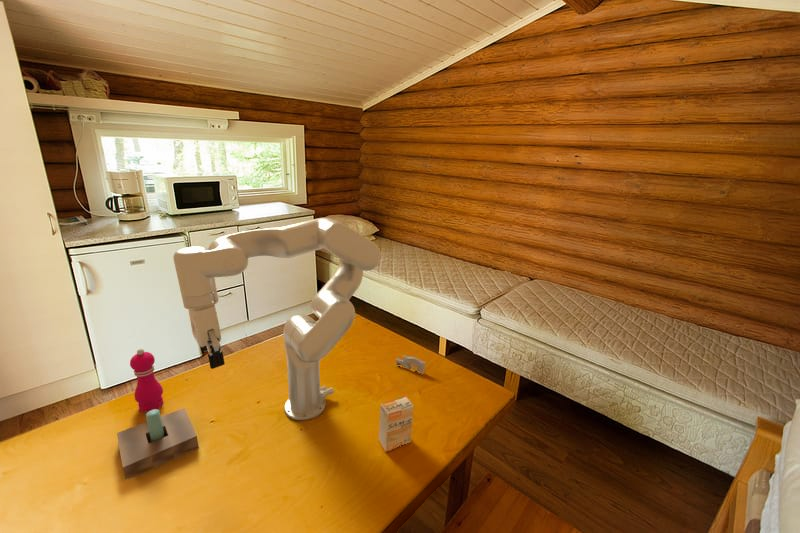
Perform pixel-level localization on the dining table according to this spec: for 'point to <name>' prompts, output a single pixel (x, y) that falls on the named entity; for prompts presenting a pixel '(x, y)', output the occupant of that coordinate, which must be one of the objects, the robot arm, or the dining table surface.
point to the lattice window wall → (407, 362)
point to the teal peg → (155, 425)
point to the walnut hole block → (156, 443)
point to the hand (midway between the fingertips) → (212, 357)
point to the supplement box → (395, 423)
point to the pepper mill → (146, 382)
